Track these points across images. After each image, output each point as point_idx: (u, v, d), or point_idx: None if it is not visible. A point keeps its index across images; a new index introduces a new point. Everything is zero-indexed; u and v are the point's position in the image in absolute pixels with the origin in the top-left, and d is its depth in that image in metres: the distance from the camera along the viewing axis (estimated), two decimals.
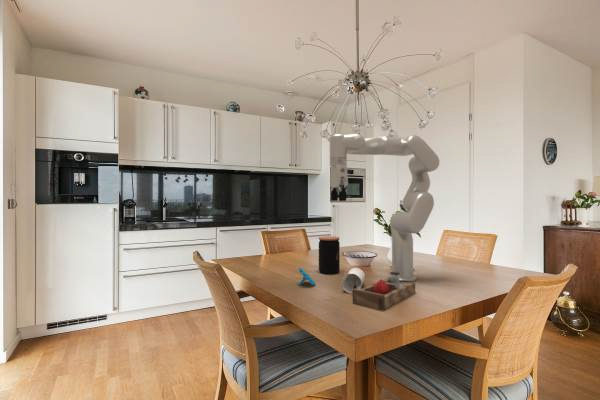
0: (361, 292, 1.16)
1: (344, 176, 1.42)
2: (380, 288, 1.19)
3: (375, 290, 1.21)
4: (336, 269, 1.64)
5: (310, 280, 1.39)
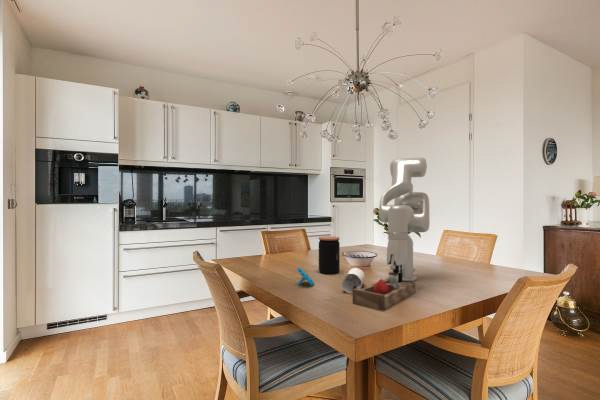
0: (361, 292, 1.16)
1: None
2: (380, 288, 1.19)
3: (375, 290, 1.21)
4: (336, 269, 1.64)
5: (308, 280, 1.39)
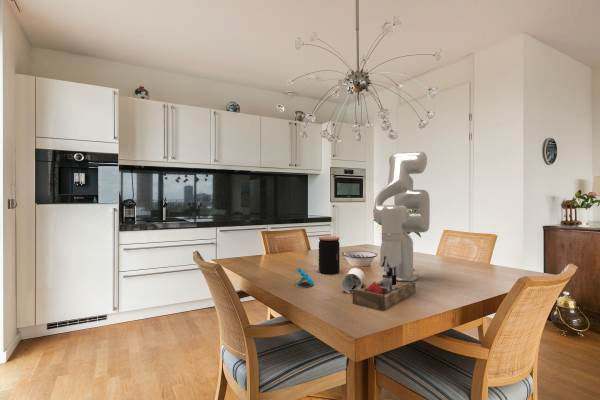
0: (361, 292, 1.16)
1: None
2: (374, 291, 1.15)
3: None
4: (336, 269, 1.64)
5: (308, 280, 1.39)
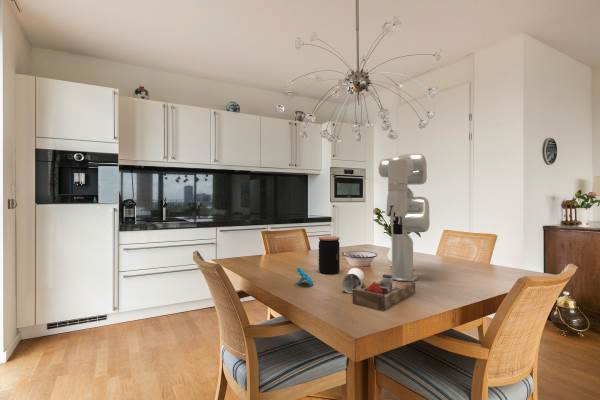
0: (361, 292, 1.16)
1: None
2: (373, 291, 1.15)
3: None
4: (336, 269, 1.64)
5: (307, 280, 1.39)
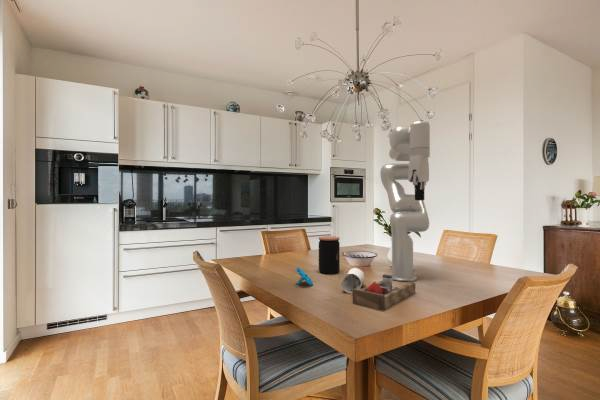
0: (361, 292, 1.16)
1: None
2: (373, 291, 1.15)
3: None
4: (336, 269, 1.64)
5: (306, 280, 1.39)
